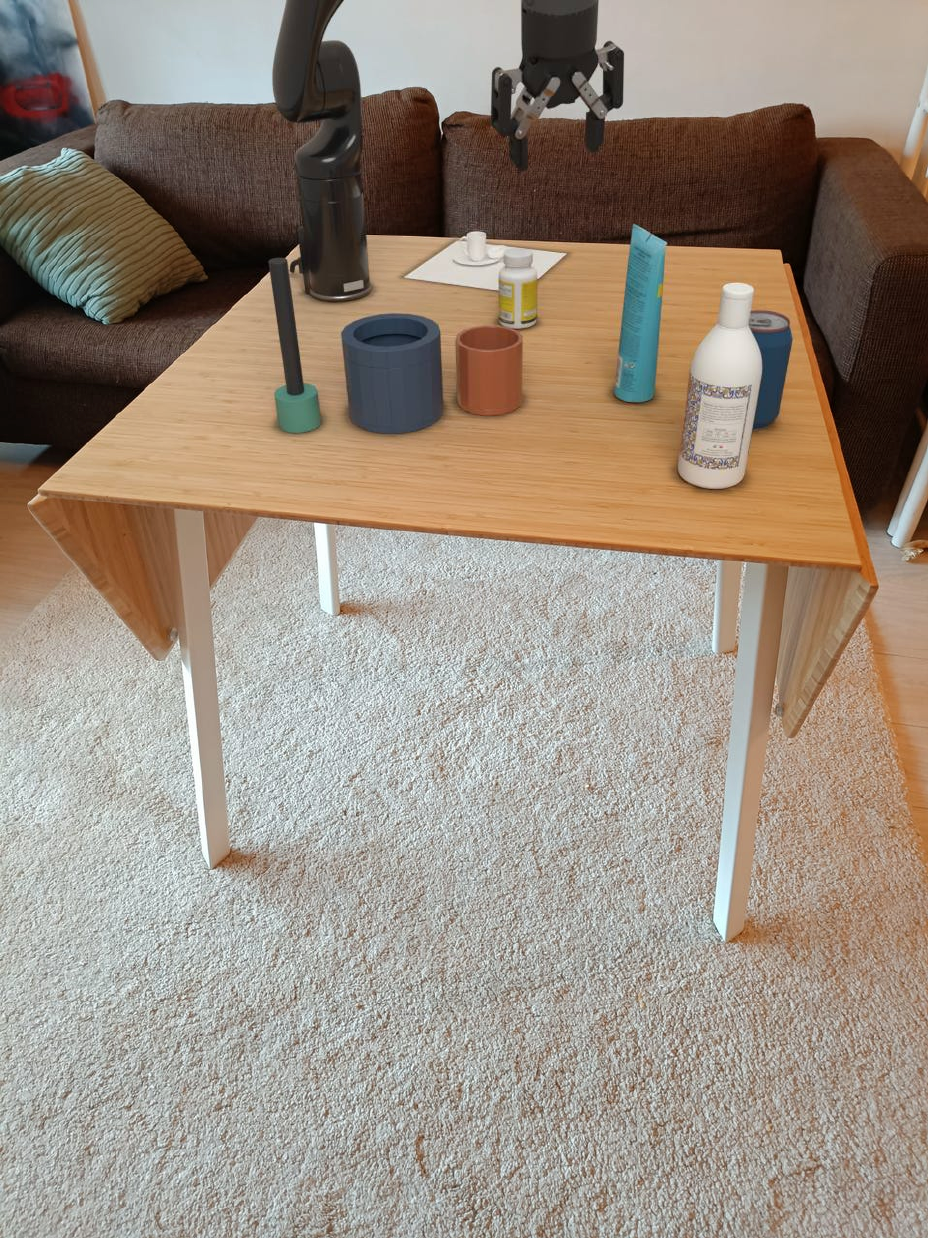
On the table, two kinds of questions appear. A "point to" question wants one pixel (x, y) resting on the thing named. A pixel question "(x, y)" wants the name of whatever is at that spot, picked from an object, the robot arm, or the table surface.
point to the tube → (641, 318)
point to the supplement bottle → (517, 289)
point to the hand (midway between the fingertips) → (556, 158)
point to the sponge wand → (291, 360)
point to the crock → (489, 369)
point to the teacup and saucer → (476, 263)
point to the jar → (393, 372)
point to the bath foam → (722, 396)
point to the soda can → (770, 362)
